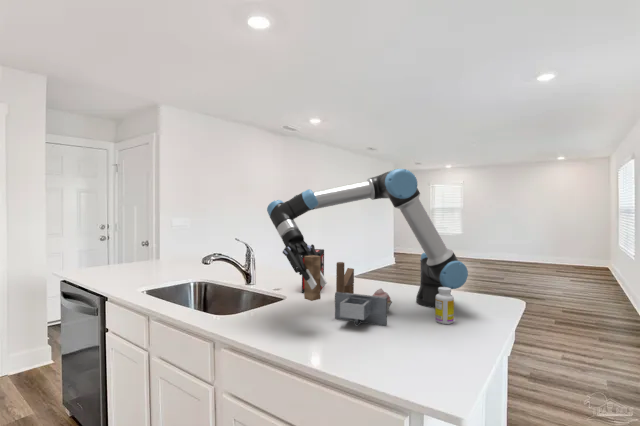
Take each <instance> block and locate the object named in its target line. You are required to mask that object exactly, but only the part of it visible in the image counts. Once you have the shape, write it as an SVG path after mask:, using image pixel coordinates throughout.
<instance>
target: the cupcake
mask: <svg viewBox="0 0 640 426" xmlns="http://www.w3.org/2000/svg"><path fill="white" fill-rule="evenodd" d="M371 296H378V297H387V315H388V314H389V312H390V308H391V306H392V304H393V301H392V300H391V297H390V295H389V294H388V292H386V291H384V289H383V288H382V287H381V288H378V289H376V291H375V292H374V293H373V294H372V295H371Z"/></svg>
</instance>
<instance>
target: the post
mask: <svg viewBox="0 0 640 426" xmlns="http://www.w3.org/2000/svg"><path fill="white" fill-rule="evenodd" d="M304 265H305V267H306V269H308V270H309V271H310V273H311V275H312V277H313V278H314V280H315V282H316V284H317V285H316V286H315V288H314V289H311V287H310V286H309V284H308V282H307V280H305V279H304V293H303V294H304V296H303V297H304V299H305V300H308V301H310V302H314V301H319V300H321V292H320V256H315V255H310V256H304Z"/></svg>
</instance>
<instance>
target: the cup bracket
mask: <svg viewBox="0 0 640 426" xmlns="http://www.w3.org/2000/svg"><path fill="white" fill-rule="evenodd" d="M334 319H337V320H343V321H349V322H354V326H359V325H360V324H361V323H363V324H369V325H370V324H371V325H378V326H384V327H386V326H387V325H388V314H387V297H378V296H372V295H369V294H359V293H354V294H352V293H344V292H336V291H335V292H334Z"/></svg>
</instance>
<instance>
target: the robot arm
mask: <svg viewBox="0 0 640 426" xmlns="http://www.w3.org/2000/svg"><path fill="white" fill-rule="evenodd" d="M420 197H421V193H420V190H419V189H418V179H417V176H415V174H414V173H413V172H412V171H410V170H409V169H406V168H395V169H392V170H390V171H387V172H383V173H382V174H378V175H376V176H372V177H368V178H367V179H366V180H364V181H360V182H355V183H350V184H346V185H341V186H335V187H330V188H326V189H321V190H316V191H313V190H312V189H306V190H304V191H302V192H301V193H299V194H295V195H294V196H293V197H292V198H290V199H289V200H287V201H283V200H281V199H277V200H273V201H271V202H270V203H269V204H268V206H267V208H266V211H267V214H268V216H269V218H270V220H271V222H272V224H273V226H274V227H275V229H276V231H277V233H278V235H279V237H280V239H281V240H282V243H283V244H284V246H285V247H284V249H283V250H282V254H283V255H284V256H286V258H287V260H288V262H289V264H290V265H291V267H292V269H293V271H294V272H295V273H297V274H298V275H299V276H302V275H303V277H304V279H305V280H307V282H308V284H309V286H310V287H311V289H314V288H315V286H316V285H317V284H316V282H315V280H314V278H313V277H312V275H311V273H310V271H309V270H308V269H306V267H305V265H304V262H303V259H302V257H303V258H304V256H310V255H315V256H318V254H317V252H316V250H315V249H316V247H315V245H314V244H310V245H309V244H308V243H307V242H306V241H305V237H304V236H303V235H304V234H302V233H303V232H302V231H301V230H300V228H299V226H298V225H297V223H296V221H295V219H297V218H299V217H300V216H302V215H304V214H306V213H308V212H310V211H314V210H318V209H323V208H327V207H333V206H337V205H342V204H347V203H353V202H357V201H362V200H367V199H368V200H369V199H371V200H373V201H374V200H379V199H389V201H390V202H391V204H392V206H393V208H395V209H399V210H400V213H402V215H403V217H404V219H405V221H406V223H407V225H408V226H409V227H410V229H411V231H412V233H413V235H414V237H415V238H416V240H417V242H418V244H419V245H420V247H421V248H422V250H423V252H422V253H421V255H420V284H419V288H418V291H417V293H416V296H415V297H416V298H415V299H416V300H415V303H417V304H418V305H420V306H423V307H426V308H427V307H428V308H435V298H436V295H437V294H439V291H438V288H439V287H448V288H451V290H457V289H459V288H461V287H463V285H465V283H466V282H467V280H468V277H469V270H468V268H467V266H466V265H465V263H463V262H462V261H460V260H458V257H457V256H456V254H455V252H454V251H453V250H452V249H449V248H447V246H446V244H445V243H444V241H443V239H442V237H441V235H440V234H439V232H438V230H437V229H436V227H435V225H434V223H433V222H432V220H431V217H430V215H429V214H428V212H427V210H426V209H425V207H424V205H423V204H422V202H421V200H420ZM322 266H323V263H322V261H321V259H320V268H321V267H322ZM327 284H328V281H327V279H326V278H325V273H324V274H323V272H322V270H321V269H320V285H321V286H322V287H323V288H325V287H326V285H327Z"/></svg>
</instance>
